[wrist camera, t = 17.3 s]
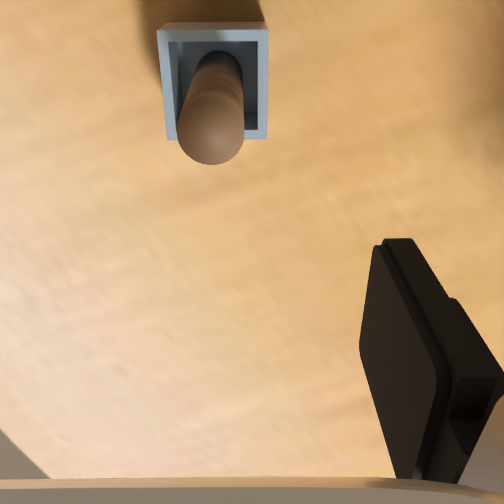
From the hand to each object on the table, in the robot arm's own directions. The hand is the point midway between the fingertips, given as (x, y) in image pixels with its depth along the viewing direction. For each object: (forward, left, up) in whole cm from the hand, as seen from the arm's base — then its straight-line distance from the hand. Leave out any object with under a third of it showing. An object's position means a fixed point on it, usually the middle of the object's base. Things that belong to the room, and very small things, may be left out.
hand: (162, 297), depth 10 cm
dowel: (0, 0, -26) cm, 26 cm away
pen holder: (0, 0, -26) cm, 26 cm away
